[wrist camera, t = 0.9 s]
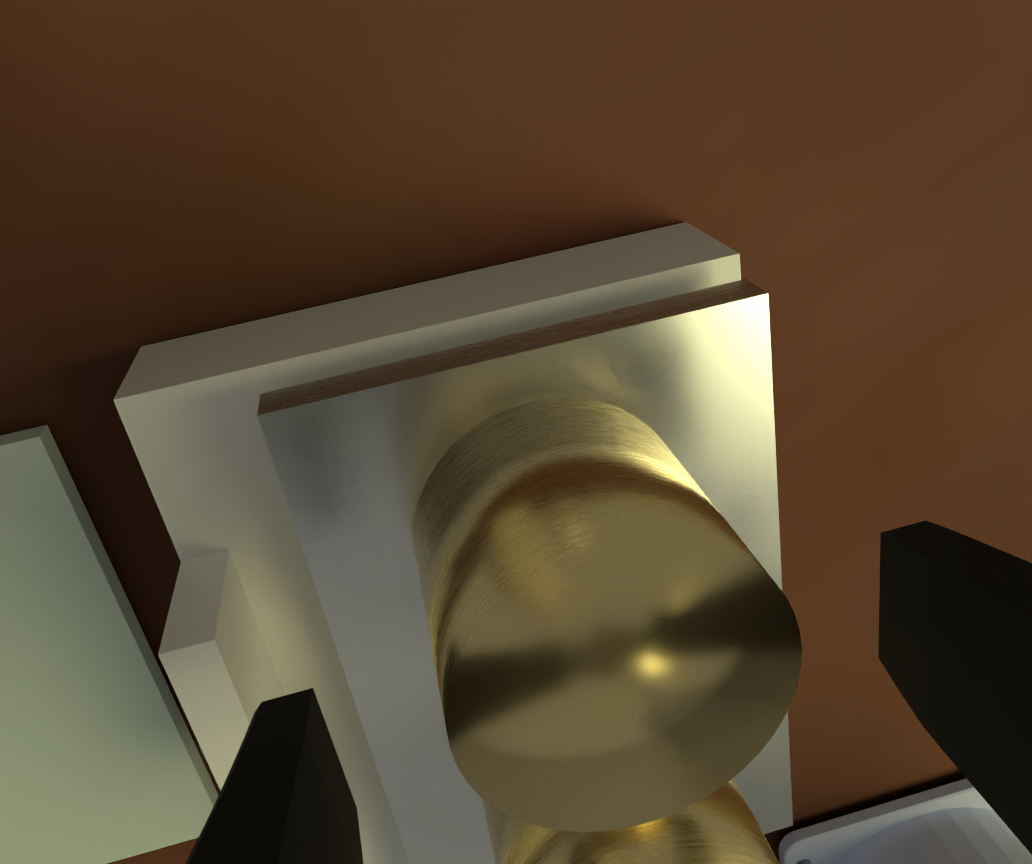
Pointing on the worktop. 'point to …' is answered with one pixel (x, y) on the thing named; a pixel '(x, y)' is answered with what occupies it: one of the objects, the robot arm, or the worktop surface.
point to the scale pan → (424, 441)
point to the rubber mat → (80, 687)
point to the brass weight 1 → (594, 621)
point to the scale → (258, 493)
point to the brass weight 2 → (642, 837)
